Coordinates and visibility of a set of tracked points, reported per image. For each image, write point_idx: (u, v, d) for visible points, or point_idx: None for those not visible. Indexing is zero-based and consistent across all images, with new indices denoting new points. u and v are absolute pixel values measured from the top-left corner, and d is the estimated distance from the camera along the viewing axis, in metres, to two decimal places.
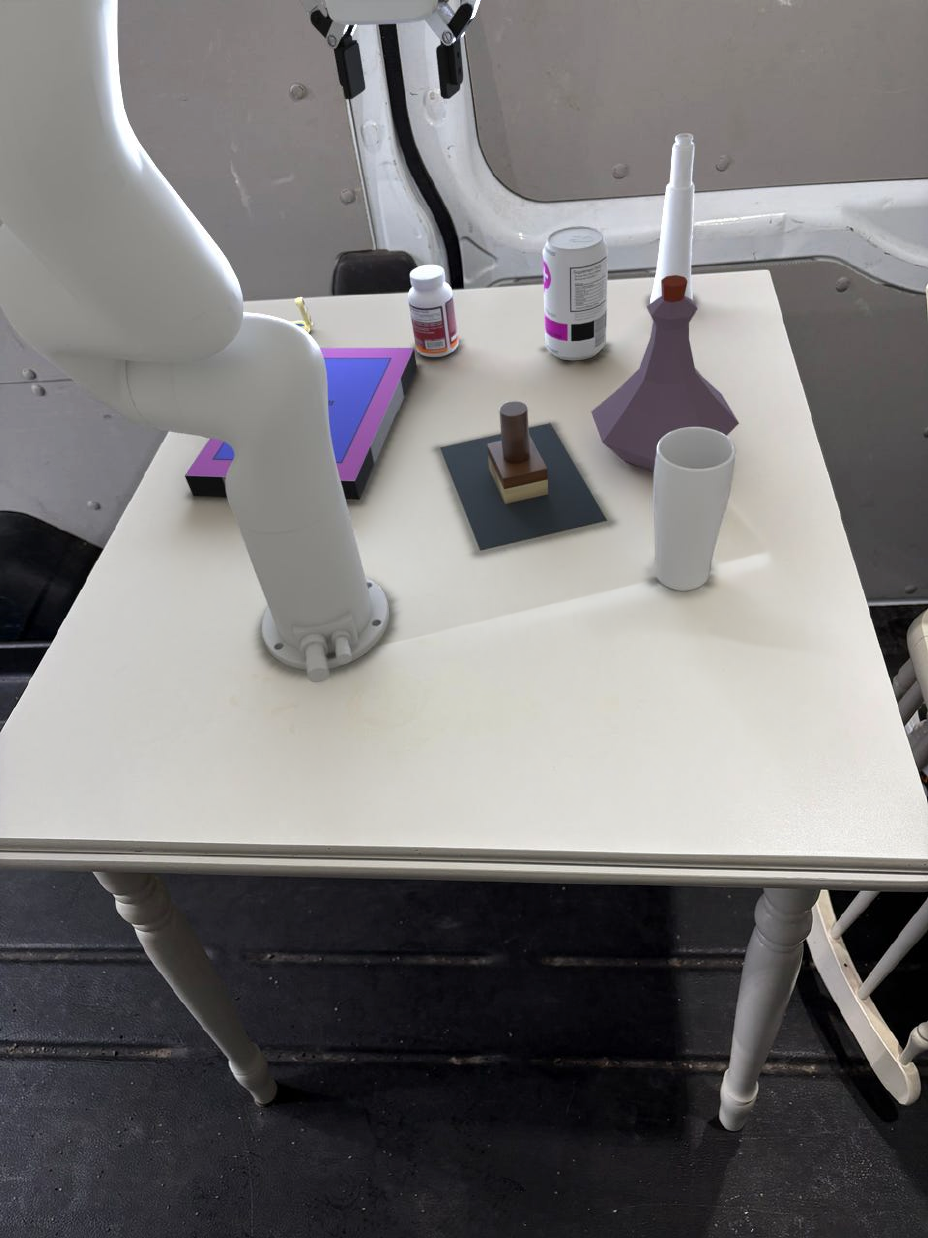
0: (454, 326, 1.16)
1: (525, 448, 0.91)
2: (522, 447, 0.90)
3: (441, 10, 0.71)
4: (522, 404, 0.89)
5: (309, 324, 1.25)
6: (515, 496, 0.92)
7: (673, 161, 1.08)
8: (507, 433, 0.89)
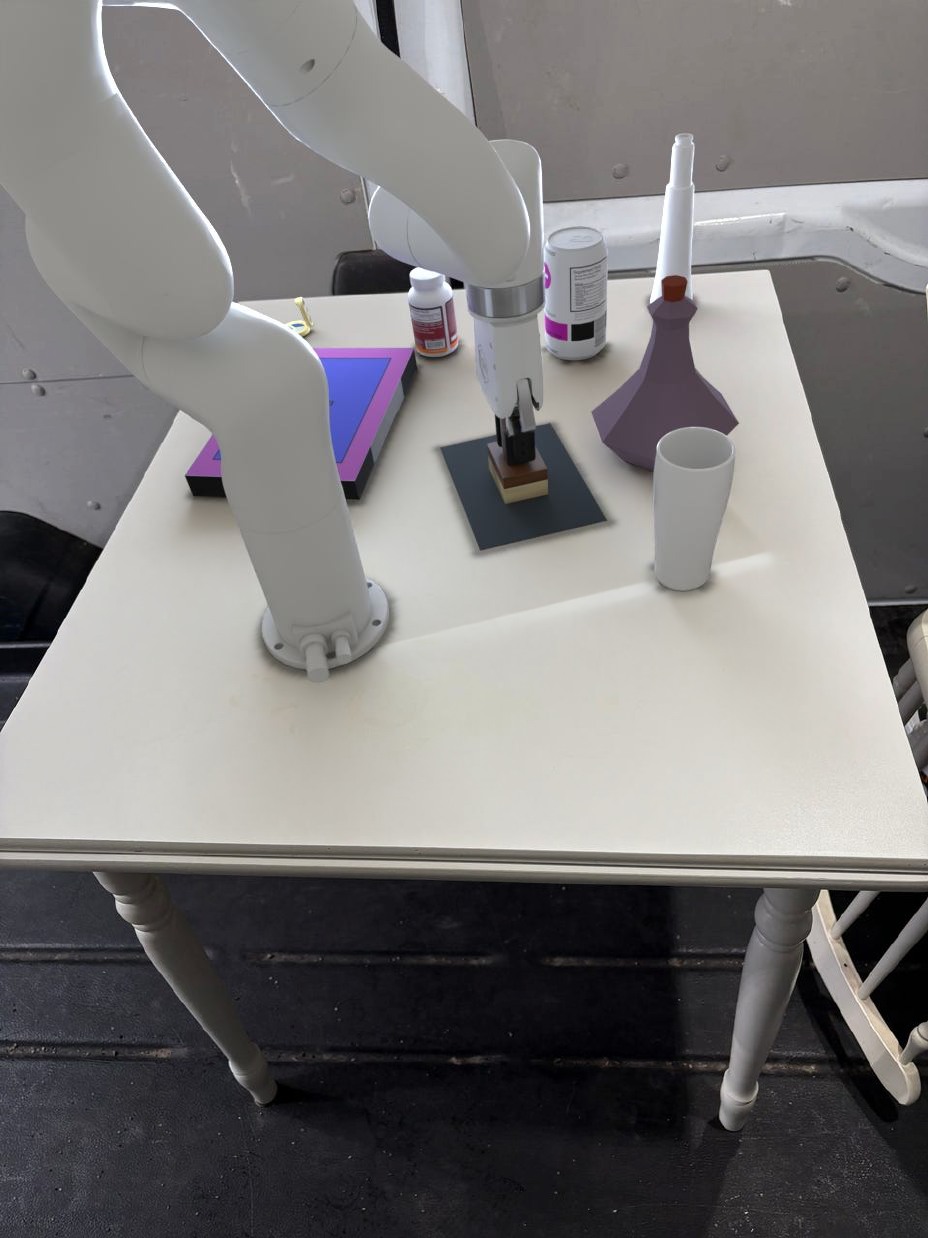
0: (454, 326, 1.16)
1: None
2: None
3: None
4: None
5: (309, 324, 1.25)
6: (515, 496, 0.92)
7: (673, 161, 1.08)
8: None
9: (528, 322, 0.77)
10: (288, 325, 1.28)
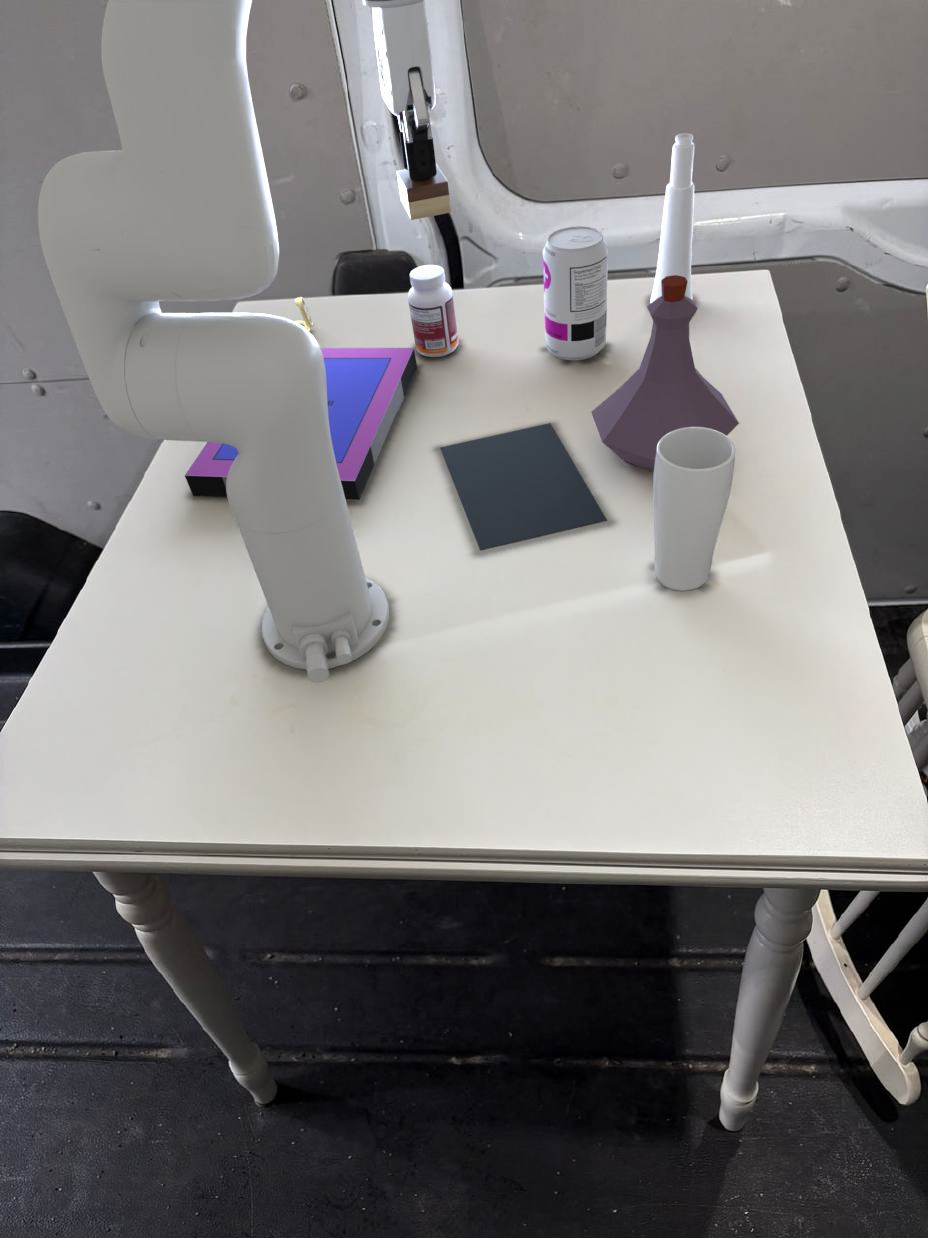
0: (454, 326, 1.16)
1: None
2: None
3: None
4: None
5: (309, 324, 1.25)
6: (420, 211, 0.99)
7: (673, 161, 1.08)
8: None
9: (414, 4, 0.85)
10: None
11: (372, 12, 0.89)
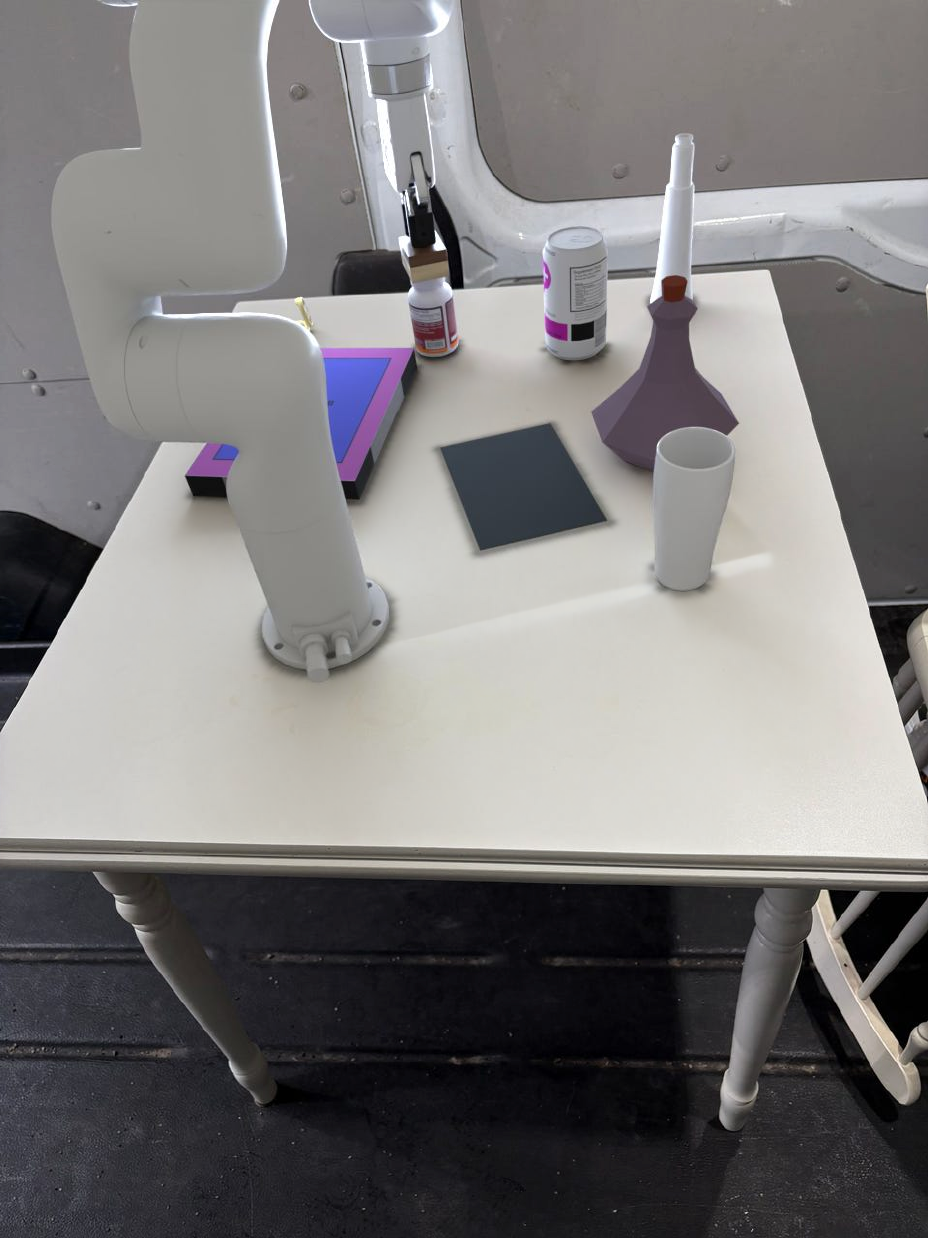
0: (454, 326, 1.16)
1: None
2: None
3: None
4: None
5: (309, 324, 1.25)
6: (420, 276, 1.08)
7: (673, 161, 1.08)
8: None
9: (416, 98, 0.94)
10: None
11: (377, 101, 0.98)
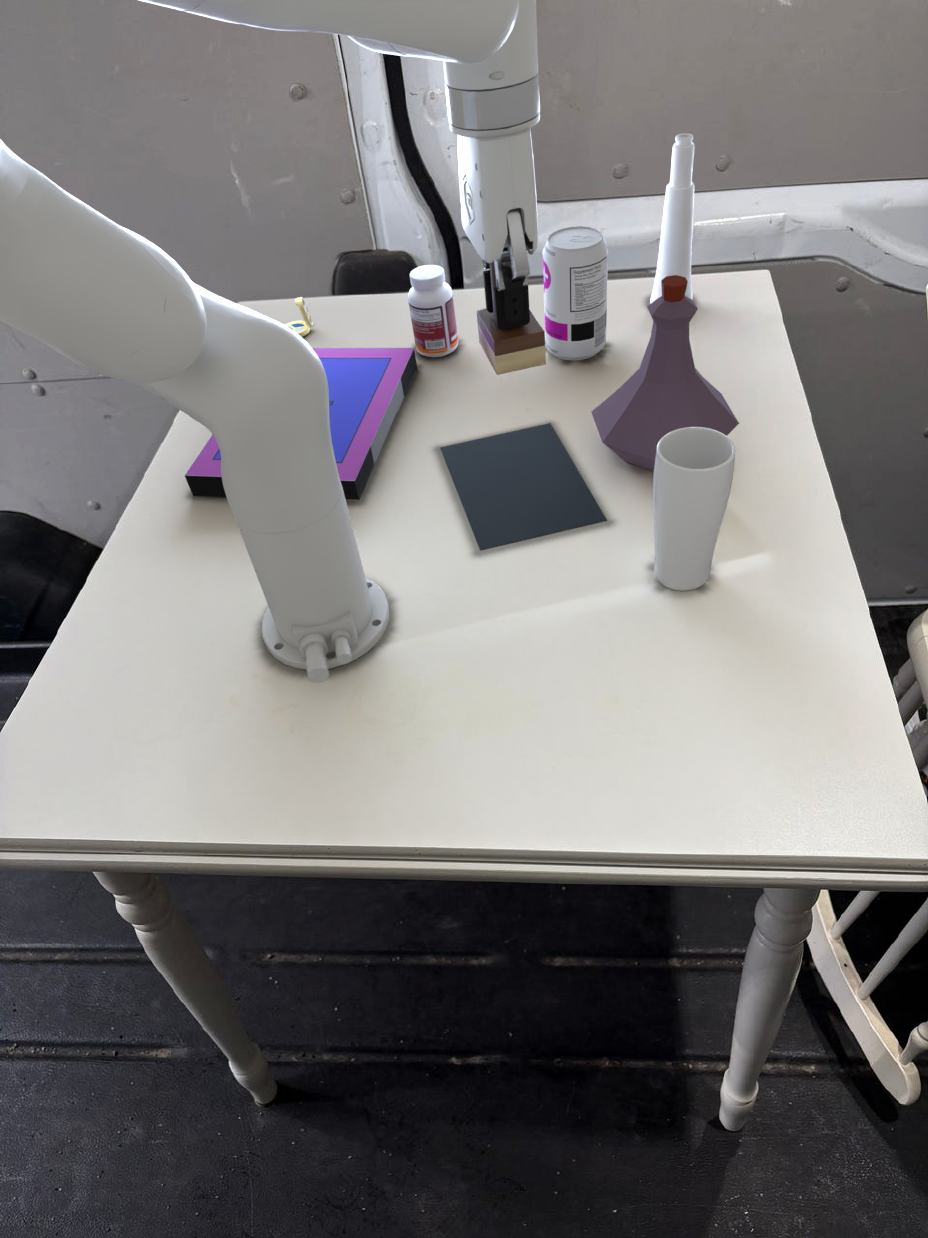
0: (454, 326, 1.16)
1: None
2: None
3: None
4: None
5: (309, 324, 1.25)
6: (508, 365, 0.81)
7: (673, 161, 1.08)
8: None
9: (519, 135, 0.66)
10: (288, 325, 1.28)
11: (459, 137, 0.71)
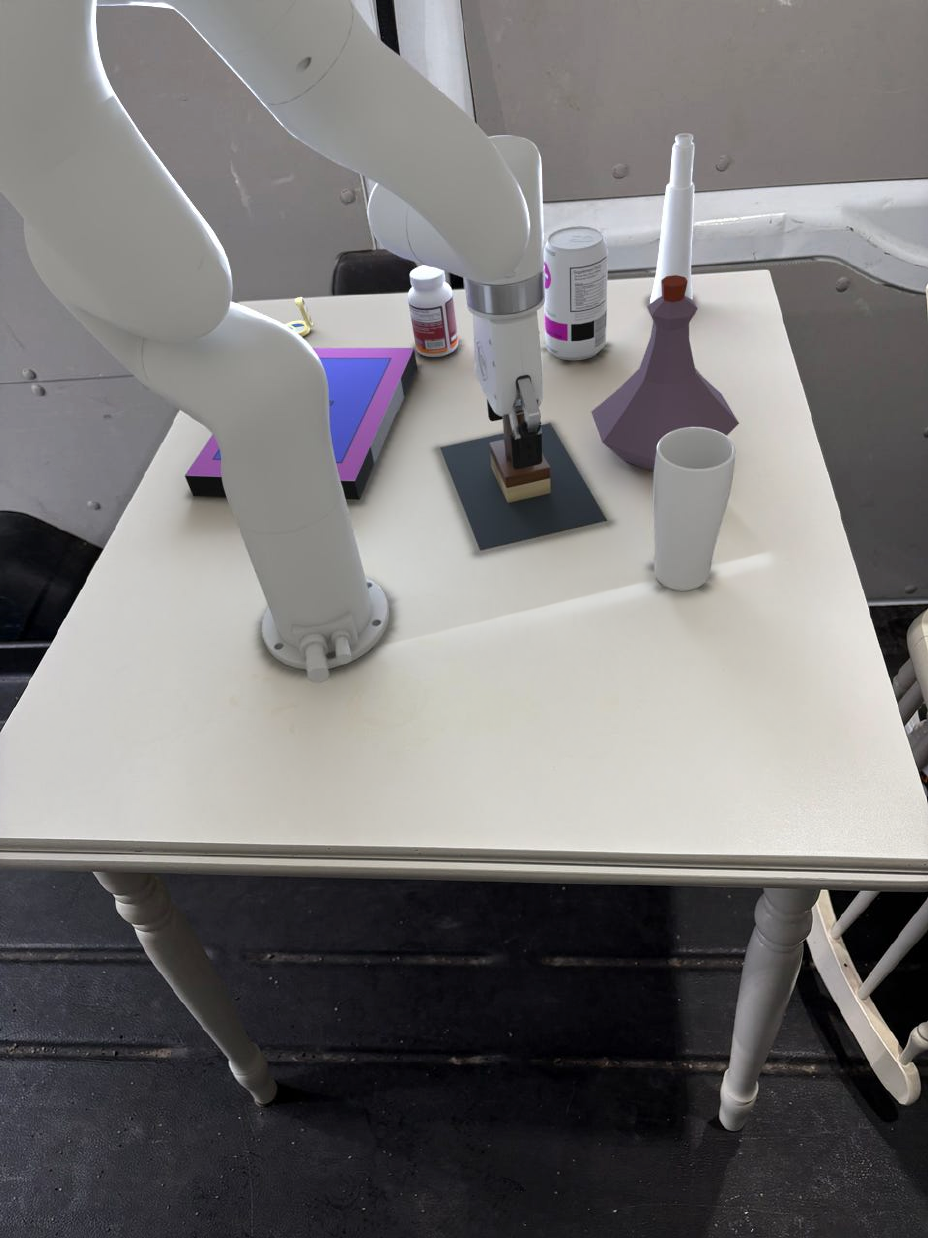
0: (454, 326, 1.16)
1: None
2: None
3: None
4: None
5: (309, 324, 1.25)
6: (517, 495, 0.92)
7: (673, 161, 1.08)
8: (509, 432, 0.89)
9: (527, 319, 0.77)
10: (288, 325, 1.28)
11: None
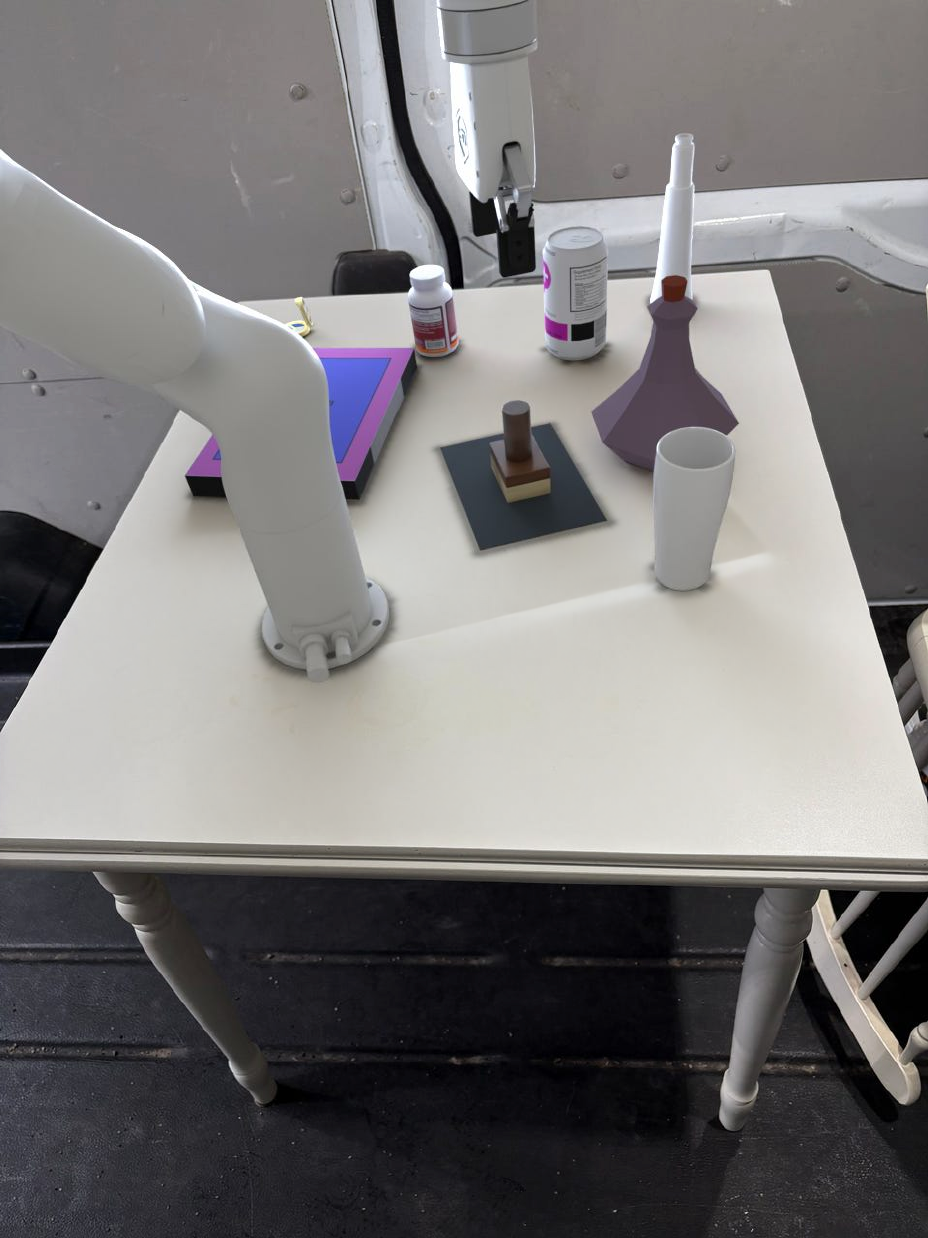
0: (454, 326, 1.16)
1: (528, 447, 0.91)
2: (525, 446, 0.90)
3: None
4: (525, 403, 0.89)
5: (309, 324, 1.25)
6: (517, 495, 0.92)
7: (673, 161, 1.08)
8: (509, 432, 0.89)
9: (516, 61, 0.63)
10: (288, 325, 1.28)
11: (453, 68, 0.67)
